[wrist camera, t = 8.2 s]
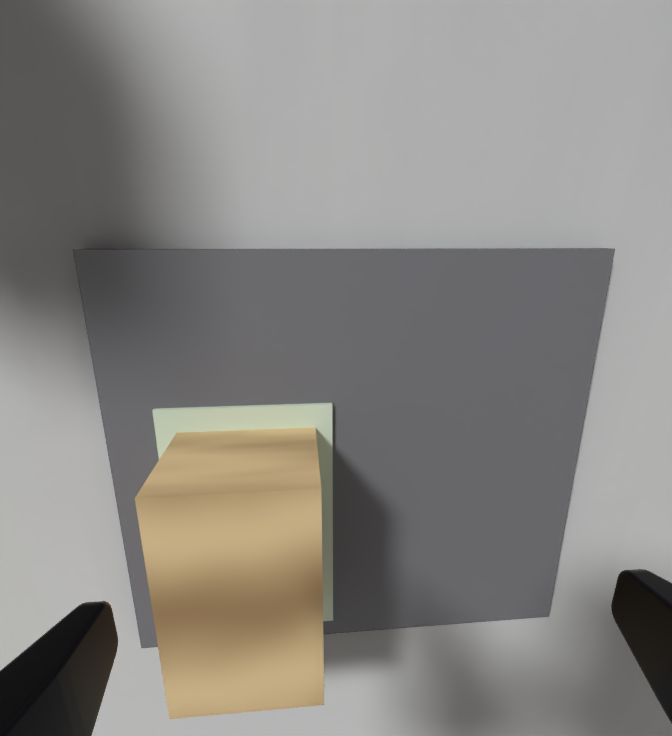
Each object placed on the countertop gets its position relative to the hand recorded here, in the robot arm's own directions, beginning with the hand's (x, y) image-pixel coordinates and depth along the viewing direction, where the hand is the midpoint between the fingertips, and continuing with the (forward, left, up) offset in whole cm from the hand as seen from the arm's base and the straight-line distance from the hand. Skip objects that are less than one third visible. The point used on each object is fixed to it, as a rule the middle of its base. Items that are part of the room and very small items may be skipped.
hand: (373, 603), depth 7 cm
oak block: (+3, +6, -10) cm, 12 cm away
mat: (-1, +3, -11) cm, 11 cm away
